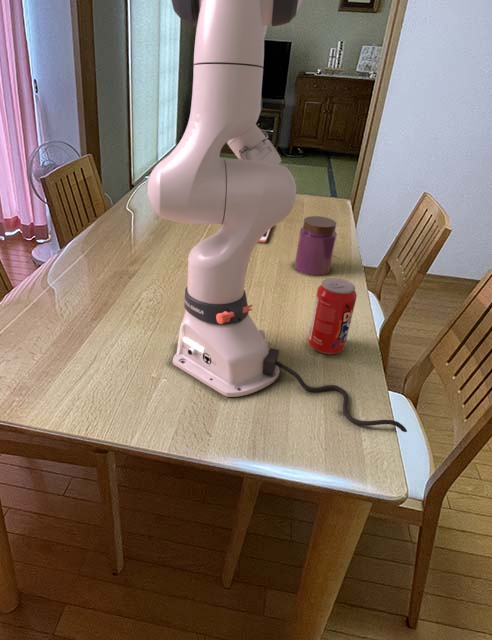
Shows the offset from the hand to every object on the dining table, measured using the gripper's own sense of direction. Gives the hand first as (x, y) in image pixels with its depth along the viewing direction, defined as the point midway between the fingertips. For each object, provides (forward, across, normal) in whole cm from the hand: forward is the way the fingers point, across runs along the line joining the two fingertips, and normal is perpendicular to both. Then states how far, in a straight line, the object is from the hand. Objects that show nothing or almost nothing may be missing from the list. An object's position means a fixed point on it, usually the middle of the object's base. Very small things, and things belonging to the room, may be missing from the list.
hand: (280, 185), depth 131 cm
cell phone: (+8, +22, +23) cm, 33 cm away
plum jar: (+24, +1, +7) cm, 25 cm away
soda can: (+31, -39, +1) cm, 50 cm away
